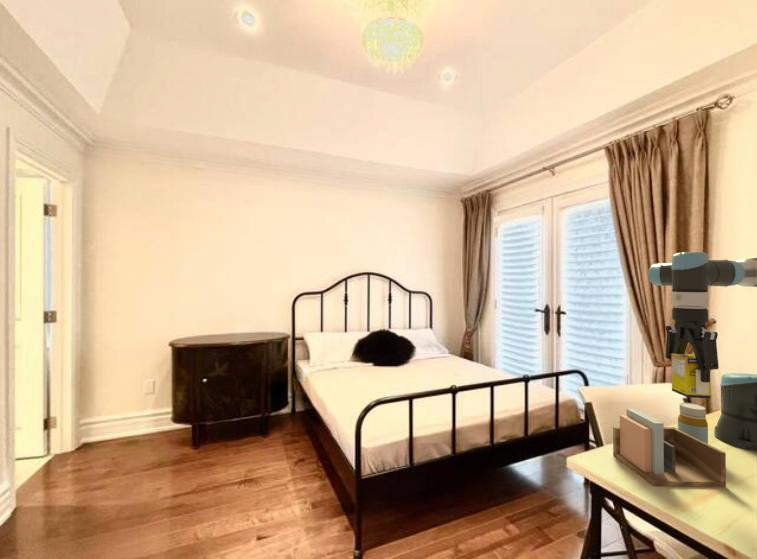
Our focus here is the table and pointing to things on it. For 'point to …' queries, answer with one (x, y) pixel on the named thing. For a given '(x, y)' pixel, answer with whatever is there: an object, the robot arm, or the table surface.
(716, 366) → the robot arm
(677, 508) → the table surface
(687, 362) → the supplement box
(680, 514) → the table surface
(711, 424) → the table surface
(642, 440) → the shelved books
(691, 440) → the book rack
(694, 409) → the bottle
